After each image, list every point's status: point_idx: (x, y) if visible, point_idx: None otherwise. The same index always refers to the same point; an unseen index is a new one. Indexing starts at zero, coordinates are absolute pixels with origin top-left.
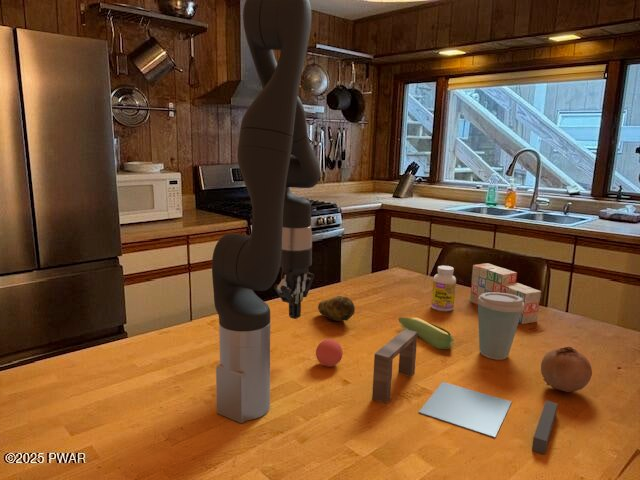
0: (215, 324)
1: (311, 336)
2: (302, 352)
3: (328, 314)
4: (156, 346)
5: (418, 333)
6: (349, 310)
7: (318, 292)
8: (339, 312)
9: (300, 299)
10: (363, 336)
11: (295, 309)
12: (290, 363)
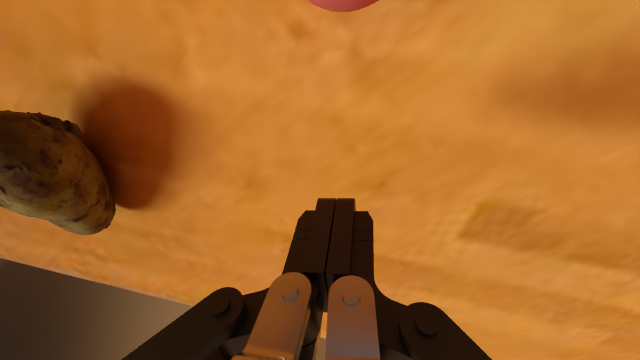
0: None
1: (220, 152)
2: (327, 106)
3: (101, 181)
4: (499, 346)
5: None
6: (7, 121)
7: (61, 264)
8: (59, 147)
9: (302, 295)
10: (53, 7)
11: (354, 247)
12: (427, 85)
